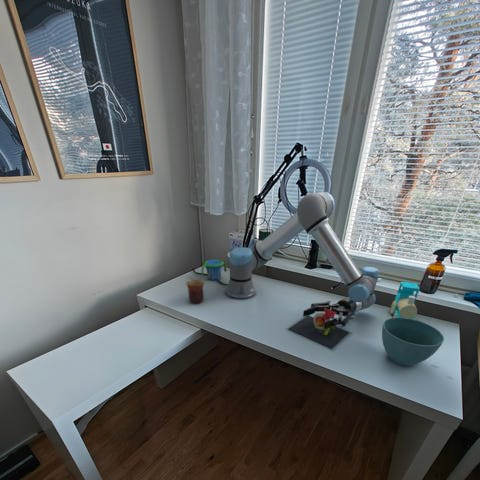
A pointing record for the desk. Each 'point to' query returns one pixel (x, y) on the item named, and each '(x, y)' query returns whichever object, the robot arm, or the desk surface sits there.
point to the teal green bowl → (410, 340)
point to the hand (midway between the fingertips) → (314, 319)
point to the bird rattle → (321, 319)
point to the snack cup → (214, 269)
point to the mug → (195, 290)
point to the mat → (319, 332)
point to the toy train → (405, 301)
